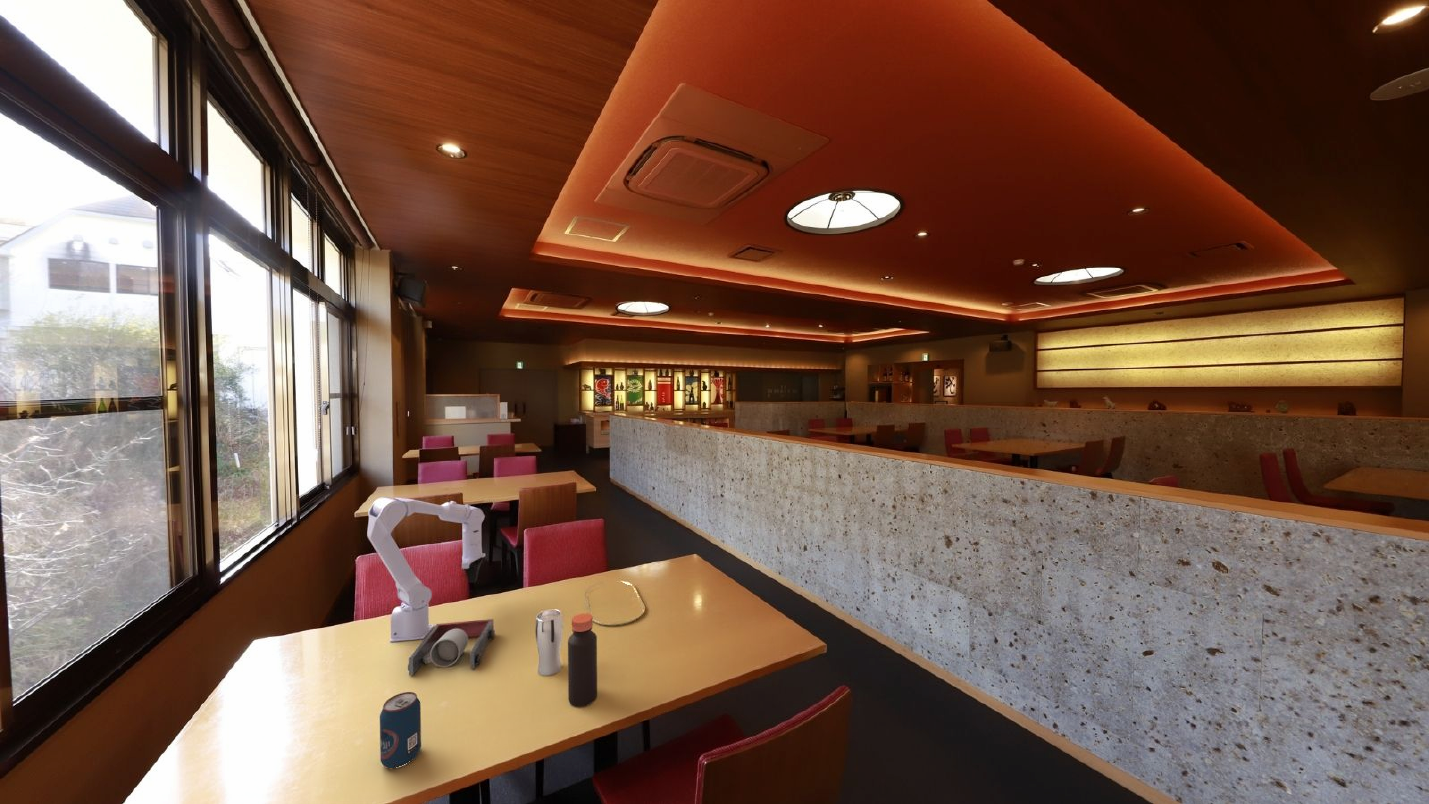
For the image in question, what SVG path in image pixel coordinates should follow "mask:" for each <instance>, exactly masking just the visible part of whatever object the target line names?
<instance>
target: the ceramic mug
mask: <svg viewBox="0 0 1429 804" xmlns="http://www.w3.org/2000/svg"><path fill="white" fill-rule="evenodd" d="M468 642H469V637H468V635H467V633H466V632H465V631H464V630H462V629H457V628H456V629H452V630H449V631H448V632H446V633H445V634H444V635H443V636H442V637H441V638H440V639H439V640H438V641H437V642H436V643H435V644H434V645H433V647H432V649H431V651H430V652H429V653H428V654H427V655H426V656H425V657H424V658H423V663H424V664H425V665H427V664H429V663H432V664H434V665H435V666H437V667H439V668H449V667H451V666H453V665H455V664H456V662H457V661H458V660H459V659H460V657H461V655H462V654H463V653H464V652H465V649H466V648H467V645H468Z"/></svg>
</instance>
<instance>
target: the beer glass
mask: <svg viewBox="0 0 1429 804" xmlns="http://www.w3.org/2000/svg"><path fill="white" fill-rule="evenodd" d="M563 628H564V625H563V615H562V611H561V610H559V609H556V608H552V609H549V608H548V609H545V610H542V611H540V612H538V613H537V614H536V616H535V635H534V636H535V643H536V646H537V647H536V648H537V652H538V664H537V665H538V666H537V674H538V675H540V676H542V677H550V676H553V675H556V674H557V673H559V672H560V670H561V669H562V661H561V653H560V652H561V645H562V640H563V630H564V629H563Z"/></svg>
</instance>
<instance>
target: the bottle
mask: <svg viewBox="0 0 1429 804" xmlns="http://www.w3.org/2000/svg"><path fill="white" fill-rule="evenodd" d="M593 618H594V615H593V616H592V615H591V614H588V613H584V612H583V613H579V614H576V615H574V616H573V617H572V618H571V631H572V632H573V633H572V634H571V635H569V637H568V639H567V640H568V641H567V675H568V676H567V677H568V679H567V682H568V683H567V687H568V690H567V693H568V697H567V699H568V702H569V704H570V705H571V706H573V707H576V708H581V707H587V706H589V705H591V704H592V703H594V702H595V701H596V699H597V697H598V645H597V644H598V637H597V636H598V635H596V633H595V632H594V631H593V626H594V625H593V624H594V622H593Z"/></svg>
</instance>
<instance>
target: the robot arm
mask: <svg viewBox="0 0 1429 804" xmlns="http://www.w3.org/2000/svg"><path fill="white" fill-rule="evenodd" d="M414 513H417V514H418V513H419V514H424V515H425V514H426V515H432V516H433V515H434V516H438V517H439V520H441V521H445V522H453V523H457V524H459V523H460V524H462V525H461V526H462V556H461V559H462V562H461V570H464V572H465V575H466V577H467V578H466V579H467V581H468V582H467V583H476V582H477V580H478V576H479V570H480V567H481V564H482V563H483V560H484V559H483V558H484V557H486V553H485V552H484V553H483V548H482V523H483V521H484V520H485V518H486V515H485V514H484V512H483V510H482V509H481V508H480V507H479V508H478V507H475V506H471V504H465V505H464V504H458V503H457V502H456V501H453V500H450V502H449V501H446V502H444V503H443V504H435V503H430V502H426V501H421V500H417V499H412V498H403V497H393V498H391V497H389V496H382V497H379V498H377V499H376V500H374V502H373V503H372V504H371V506H370V508H369V509H368V511H367V515H368V524H367V533H366V534H367V535H366V536H367V539H368V541H369V542H370V543H371V545H372V546H373V548H374V550H375V552H376V553H377V554H378V556H379V558H380V560H381V561H382V563H383V564H384V566H385V568H386V569H387V571H388V573H389V574H390V575H391V577H392V579H393V580H394V582H395V587H396V589H397V597H398V599H399V600H400V601H401V604H400V606H396V607H394V608H393V610H392V613H391V616H390V639H389V643H390V642H391V643H393V642H402V641H414V640H424V639H425V638H426V637H427V636H428V634H429V633H430V632H431V631H432V629H433V628H434V627H435V624H429V623H430V618H429V616H430V615H429V612H430V611H429V603H430V601H431V599H432V596H433V595H432V590H431V589H430V588H429V587H427V586H425V585H424V584H423V582H422V581H421V580H420V579H419V578H418V577H417V576H416V575H415V573H414V571H413V569H412V568H411V566H410V565H409V563H408V561H407V559H406V557H404V555H403V553H402V551H401V550H400V548H399V547H398V545H397V543H396V541H395V539H394V538H393V537H392V536H393V535H392V532H393V531H394V529H395V527H396V526H397V525H398V524H399V523H400V522H401V521H402V520H403V519H404V518H405V516H406V517H409V516H411V515H412V514H414Z"/></svg>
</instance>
